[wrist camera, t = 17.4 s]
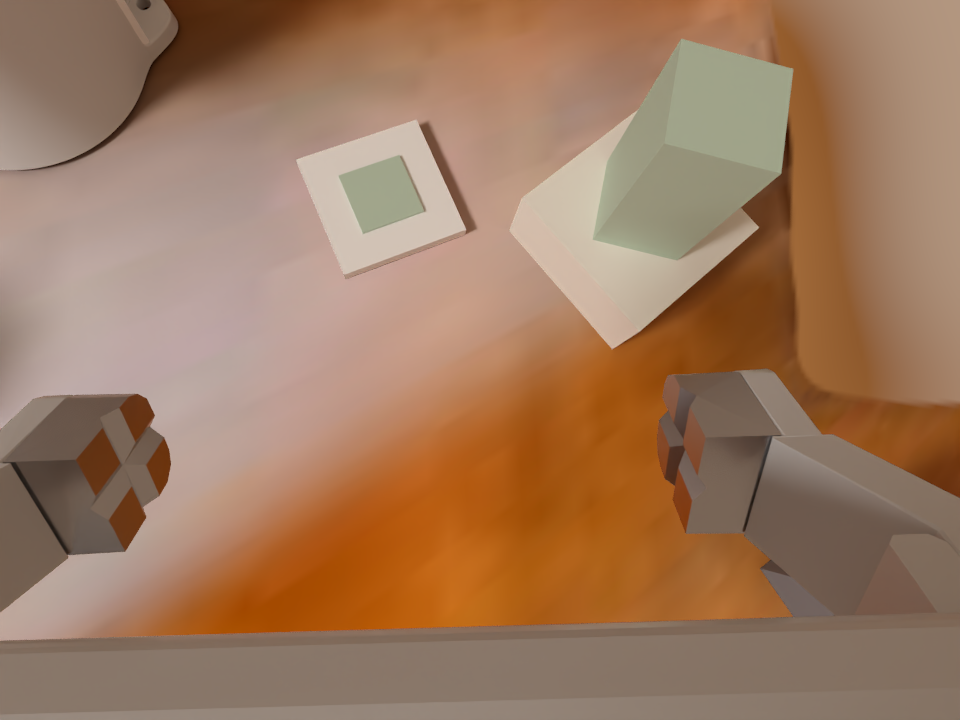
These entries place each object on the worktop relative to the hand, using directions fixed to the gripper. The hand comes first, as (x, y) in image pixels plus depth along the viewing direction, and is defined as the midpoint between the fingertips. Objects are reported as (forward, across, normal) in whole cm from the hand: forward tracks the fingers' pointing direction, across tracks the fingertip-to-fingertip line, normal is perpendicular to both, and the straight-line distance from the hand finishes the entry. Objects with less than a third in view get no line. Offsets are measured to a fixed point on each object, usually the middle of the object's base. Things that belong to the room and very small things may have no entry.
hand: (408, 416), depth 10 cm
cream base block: (+30, -10, +9) cm, 33 cm away
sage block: (+26, -10, +6) cm, 29 cm away
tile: (+30, +5, +6) cm, 31 cm away
